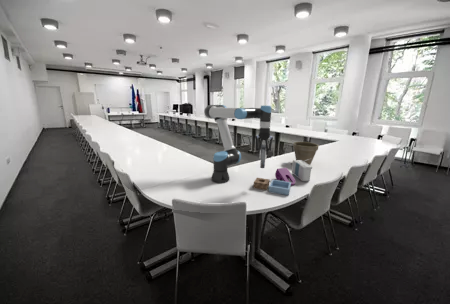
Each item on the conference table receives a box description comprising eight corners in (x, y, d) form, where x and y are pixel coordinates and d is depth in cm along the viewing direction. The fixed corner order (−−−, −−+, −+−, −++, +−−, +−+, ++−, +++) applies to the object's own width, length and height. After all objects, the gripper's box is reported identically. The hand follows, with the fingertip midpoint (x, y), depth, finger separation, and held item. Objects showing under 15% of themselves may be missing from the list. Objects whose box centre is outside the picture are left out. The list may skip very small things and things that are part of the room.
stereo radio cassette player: (291, 173, 184) (293, 152, 179) (299, 173, 184) (301, 152, 180) (301, 182, 164) (304, 159, 159) (311, 181, 164) (313, 158, 159)
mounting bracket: (294, 190, 162) (283, 174, 175) (297, 183, 157) (286, 167, 170) (284, 191, 159) (274, 175, 173) (287, 184, 154) (277, 168, 167)
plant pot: (321, 166, 206) (324, 145, 200) (300, 167, 200) (302, 146, 195) (306, 159, 229) (308, 141, 224) (287, 160, 224) (289, 142, 219)
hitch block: (253, 188, 151) (253, 181, 150) (256, 183, 160) (257, 177, 159) (266, 190, 147) (266, 184, 146) (269, 185, 156) (269, 179, 155)
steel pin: (258, 168, 149) (259, 145, 145) (259, 166, 153) (261, 144, 149) (264, 168, 147) (266, 145, 143) (266, 167, 151) (267, 144, 147)
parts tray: (268, 191, 145) (269, 186, 144) (272, 184, 157) (272, 179, 156) (288, 195, 140) (289, 189, 139) (290, 187, 152) (291, 182, 151)
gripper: (252, 127, 142) (251, 158, 148) (275, 128, 136) (272, 161, 142) (255, 126, 149) (253, 156, 155) (277, 127, 143) (274, 158, 149)
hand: (262, 158), depth 148 cm, fingers closed on steel pin, 3 cm apart
